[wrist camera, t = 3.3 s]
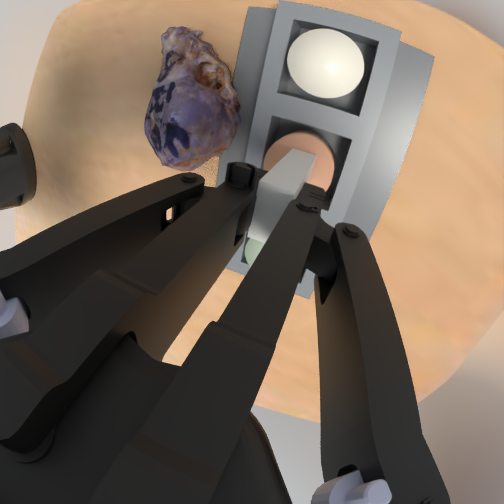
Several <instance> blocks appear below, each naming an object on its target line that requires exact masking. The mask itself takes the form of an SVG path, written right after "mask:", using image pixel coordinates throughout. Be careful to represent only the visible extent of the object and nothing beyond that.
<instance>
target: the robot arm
mask: <svg viewBox="0 0 504 504" xmlns="http://www.w3.org/2000/svg"><path fill="white" fill-rule="evenodd" d="M316 157H317V155H314V154H310V153H307V152H304V151H301V150H298V149H294V148H293V149H292V150H291V151H290V152H288V153H287V154H286V155H285V156H284V157H283V158H282V159H281V160H280V161H279V162H278V163H277V164H276V165H275V166H274V167H273V168H272V169H271V170H270V171H266V170H263V169H259V168H257V167H256V166H254V165H252V164H249V163H245V162H229V163H228V164H227V170H226V176H225V181H224V182H223V183H222V184H220V185H219V186H218V187H217V188H215V187H207V186H204V184H205V179H204V177H202V176H201V175H198V174H196V173H192V172H188V173H181V174H177V175H174V176H171V177H169V178H166V179H163V180H160V181H157V182H155V183H152V184H149V185H147V186H144V187H141V188H139V189H136V190H134V191H131V192H128V193H126V194H123V195H121V196H118V197H116V198H114V199H111V200H109V201H106V202H104V203H102V204H99V205H97V206H95V207H93V208H90V209H88V210H86V211H84V212H81V213H79V214H77V215H75V216H73V217H71V218H68V219H66V220H64V221H62V222H60V223H58V224H56V225H54V226H52V227H50V228H48V229H46V230H44V231H42V232H40V233H38V234H36V235H34V236H32V237H31V238H29V239H27V240H25V241H23V242H21V243H19V244H18V245H16V246H14V247H12V248H10V249H7V250H4V251H1V252H0V504H292V501H291V499H290V496H289V493H288V491H287V488H286V486H285V483H284V480H283V478H282V475H281V472H280V470H279V467H278V464H277V462H276V459H275V456H274V453H273V450H272V448H271V445H270V442H269V439H268V437H267V435H266V433H265V431H264V429H263V427H262V425H261V424H260V423H259V422H258V420H257V418H256V417H255V416H254V415H253V414H252V413H251V411H250V410H251V408H252V406H253V403H254V401H255V398H256V396H257V394H258V391H259V389H260V386H261V384H262V381H263V379H264V376H265V374H266V371H267V369H268V366H269V364H270V361H271V359H272V356H273V353H274V351H275V348H276V343H277V340H278V337H279V335H280V332H281V329H282V327H283V324H284V321H285V319H286V316H287V313H288V310H289V308H290V305H291V302H292V299H293V296H294V294H295V291H296V288H297V285H298V282H299V279H300V276H301V273H302V270H303V267H305V268H306V269H308V270H310V271H311V272H313V273H314V274H315V276H314V291H315V303H316V317H317V332H318V350H319V372H320V411H321V465H322V471H323V478H324V482H325V483H324V484H322V485H321V486H320V487H319V488H318V489H317V490H316V491H315V493H314V495H313V496H312V500H311V504H450V498H449V495H448V492H447V489H446V487H445V485H444V482H443V480H442V477H441V475H440V472H439V470H438V468H437V466H436V463H435V461H434V459H433V457H432V454H431V452H430V450H429V447H428V445H427V443H426V441H425V439H424V437H423V434H422V429H421V423H420V417H419V411H418V406H417V401H416V396H415V391H414V386H413V382H412V377H411V373H410V369H409V365H408V361H407V357H406V353H405V349H404V345H403V342H402V338H401V334H400V331H399V327H398V324H397V321H396V317H395V314H394V311H393V308H392V305H391V302H390V299H389V295H388V293H387V290H386V287H385V284H384V281H383V278H382V275H381V272H380V270H379V267H378V264H377V262H376V259H375V256H374V254H373V251H372V248H371V246H370V243H369V241H368V238H367V236H366V234H365V233H364V232H363V231H362V230H361V229H360V228H359V227H357V226H356V225H354V224H349V223H344V222H341V223H337V224H336V225H335V227H332V226H330V225H329V224H327V223H326V222H325V221H324V220H323V219H322V218H321V216H320V215H321V210H322V206H323V203H324V199H325V196H326V192H325V190H324V189H323V188H321V187H318V186H315V185H312V184H309V181H310V178H311V174H312V171H313V167H314V164H315V161H316ZM35 188H36V173H35V165H34V160H33V155H32V152H31V148H30V145H29V142H28V140H27V138H26V135H25V134H24V132H23V130H22V129H21V128H20V126H18V125H17V124H16V123H10V124H7V125H5V126H2V127H1V128H0V210H4V209H8V208H13V207H17V206H21V205H23V204H25V203H27V202H28V201H30V200H31V199H32V198H33V196H34V193H35ZM171 207H172V219H170V220H167V219H166V210H168V209H169V208H171ZM248 228H249V231H248V236H247V237H249V238H252V239H255V240H257V241H260V242H263V243H265V244H264V246H263V247H262V249H261V251H260V252H259V254H258V256H257V257H256V259H255V261H254V262H253V264H252V266H251V267H250V269H249V271H248V272H247V274H246V276H245V277H244V279H243V281H242V282H241V284H240V286H239V287H238V289H237V291H236V292H235V294H234V295H233V297H232V299H231V300H230V302H229V304H228V305H227V307H226V309H225V310H224V312H223V314H222V315H221V317H220V318H219V320H218V321H217V322H215V321H212V322H210V323H209V324H208V326H207V327H206V328H205V330H204V331H203V333H202V334H201V336H200V338H199V339H198V341H197V342H196V344H195V345H194V347H193V349H192V350H191V352H190V353H189V355H188V356H187V358H186V360H185V361H184V363H183V364H182V366H176V365H172V364H168V363H164V362H162V359H163V357H164V355H165V353H166V352H167V350H168V349H169V347H170V346H171V344H172V343H173V341H174V340H175V338H176V337H177V336H178V334H179V333H180V331H181V330H182V328H183V327H184V325H185V324H186V323H187V321H188V320H189V318H190V317H191V315H192V314H193V313H194V311H195V310H196V308H197V307H198V305H199V304H200V303H201V301H202V300H203V298H204V297H205V295H206V294H207V293H208V291H209V290H210V288H211V287H212V285H213V284H214V283H215V281H216V280H217V278H218V277H219V276H220V274H221V273H222V271H223V270H224V268H225V267H226V266H227V264H228V263H229V261H230V260H231V259H232V257H233V256H234V254H235V253H236V252H237V250H238V249H239V247H240V246H241V245H242V243H243V241H244V237H245V233H246V231H247V229H248Z"/></svg>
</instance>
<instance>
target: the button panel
mask: <svg viewBox="0 0 504 504" xmlns="http://www.w3.org/2000/svg"><path fill="white" fill-rule="evenodd" d="M314 29H331V30H335V31H338V32H340V33H343V34H344V35H346V36H348V37H349V38H350V39H351V40H352V41H353V42H354V43H355V44H356V45H357V46H358V48H359V49H360V51H361V53H362V56H363V60H364V73H363V76H362V79H361V81H360V83H359V84H358V85H357V87H356V88H355V89H354V90H353V91H351V92H350V93H348V94H346V95H344V96H341V97H337V98H321V97H317V96H314V95H311V94H309V93H307V92H306V91H304V90H303V89H302V88H300V87H299V86H298V85H297V84H296V83H295V81H294V80H293V78H292V77H291V75H290V72H289V69H288V64H287V57H288V52H289V49H290V47H291V45H292V44H293V42H294V41H295V40H296V39H297V38H298V37H299V36H300V35H302V34H303V33H305V32H308V31H310V30H314ZM401 32H402V31H399V30H396V29H394V28H391V27H388V26H386V25H383V24H380V23H377V22H374V21H371V20H368V19H365V18H361V17H358V16H355V15H351V14H347V13H344V12H340V11H336V10H331V9H327V8H322V7H318V6H313V5H307V4H301V3H295V2H288V1H281V0H279V2H278V6H277V9H270V8H261V7H248V11H247V16H246V20H245V25H244V29H243V34H242V39H241V43H240V48H239V53H238V58H237V63H236V68H235V73H234V78H233V84H232V87H233V88H234V89H235V90H236V92H237V101H238V102H239V103H240V106H241V108H240V111H239V115H240V118H241V123H240V124H239V125H238V126H237V132H236V135H235V137H234V139H233V141H232V143H231V145H230V149H229V150H225V151H223V154H222V155H221V156H220V161H219V168H218V175H217V182H216V188H217V187H218V186H219V185H220V184H222V183H223V182H224V181H225V176H226V170H227V164H228V163H229V162H245V163H249V164H252V165H254V166H256V167H257V168H259V169H263V170H264V159H265V156H266V153H267V151H268V150H269V148H270V147H271V146H272V145H273V144H274V143H275V142H276V141H278V140H279V139H281V138H282V137H283V136H285V135H286V134H288V133H290V132H293V131H298V130H307V131H312V132H314V133H317V134H319V135H320V136H322V137H323V138H324V139H325V140H326V141H327V142H328V143H329V144H330V146H331V147H332V150H333V152H334V155H335V169H334V173H333V177H332V181H331V184H330V186H329V188H328V189H327V190H326V196H325V199H324V203H323V206H322V210H321V215H320V216H321V218H322V219H323V220H324V221H325V222H326V223H327V224H329V225H330V226H332V227H335V225H336V224H337V223H341V222H344V223H349V224H354V225H356V226H357V227H359V228H360V229H361V230H362V231H363V232H364V233H365V234H366V236H367V238H368V241H369V240H370V238H371V236H372V234H373V232H374V229H375V227H376V225H377V223H378V221H379V218H380V216H381V214H382V212H383V209H384V207H385V205H386V202H387V200H388V198H389V195H390V193H391V190H392V188H393V185H394V183H395V180H396V178H397V175H398V173H399V170H400V168H401V165H402V162H403V160H404V157H405V154H406V151H407V149H408V146H409V143H410V140H411V137H412V134H413V131H414V128H415V125H416V122H417V119H418V116H419V113H420V110H421V106H422V103H423V99H424V96H425V93H426V89H427V85H428V82H429V78H430V74H431V70H432V66H433V62H434V56H432V55H430V54H428V53H426V52H424V51H422V50H419V49H417V48H415V47H413V46H410V45H408V44H406V43H403V42H401V41H400V37H401ZM248 231H249V228H248V229H247V231H246V233H245V237H244V241H243V243H242V245H241V246H240V247H239V249H238V250H237V252H236V253H235V254H234V256H233V257H232V259H231V260H230V261H229V263H228V264H227V266H226V269H229V270H232V271H234V272H237V273H239V274H242V275H245V276H246V274H247V272H248V271H249V269H250V266H249V264H248V263H247V260H246V257H245V247H246V244H247V242H248V240H249V239H250V238H249V237H247V236H248ZM314 276H315V274H314V273H313V272H311V271H310V270H308V269H306V268H305V267H303V270H302V273H301V276H300V279H299V282H298V285H297V288H296V291H295V294H296V295H299V296H301V297H304V298H307V299H310V296H311V294H312V292H313V290H314Z"/></svg>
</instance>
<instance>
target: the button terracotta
mask: <svg viewBox="0 0 504 504" xmlns="http://www.w3.org/2000/svg"><path fill="white" fill-rule="evenodd" d="M293 148H294V149H298V150H301V151H304V152H307V153H310V154H314V155H317V157H316V161H315V164H314V167H313V171H312V174H311V178H310V181H309V184H312V185H315V186H318V187H321V188H323V189H324V190H325V192H326V190H327V189H328V188H329V186H330V184H331V181H332V177H333V173H334V169H335V155H334V152H333V150H332V147H331V146H330V144H329V143H328V142H327V141H326V140H325V139H324V138H323V137H322V136H320V135H319V134H317V133H314V132H312V131H307V130H298V131H293V132H290V133H288V134H286V135H285V136H283V137H282V138H281V139H279V140H278V141H276V142H275V143H274V144H273V145H272V146H271V147H270V148H269V150H268V151H267V153H266V156H265V159H264V170H266V171H270V170H271V169H272V168H273V167H274V166H275V165H276V164H277V163H278V162H279V161H280V160H281V159H282V158H283V157H284V156H285V155H286V154H287V153H288V152H290V151H291V150H292V149H293Z"/></svg>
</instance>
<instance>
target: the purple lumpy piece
mask: <svg viewBox="0 0 504 504" xmlns="http://www.w3.org/2000/svg"><path fill="white" fill-rule="evenodd" d="M188 30H189V28H186V27H182V26H181V27H178V28H175V27H170V28H168V30H167V31H166V32H165V33H163V34H162V54H163V59H162V67H161V71H160V75H159V77H158V79H157V81H156V82H155V84H154V88H153V94H152V97H151V100H150V103H149V106H148V109H147V113H146V117H145V122H144V128H145V135H146V136H147V138H148V140H149V142H150V144H151V146H152V148H153V149H154V151H155V153H156V155H157V157H158V158H159V159H160V161H161V164H162V165H165V166H168V167H171V168H173V169H176V170H180V171H191V170H194V169H196V168H198V167H199V166H201V165H202V164H203V163H205V162H206V161H208V160H209V159H210V158H211V157H213V156H217V157H220V156H221V155H222V154H223V151H225V150H229V149H230V145H231V143H232V141H233V139H234V137H235V135H236V132H237V126H238V125H239V124H240V123H241V118H240V115H239V111H240V108H241V106H240V103H239V102H238V101H237V92H236V90H235V89H234V88H233V87H232V84H231V79H230V74H229V69H228V67H227V66H226V65H225V64H224V63H222V62H220V60H219V59H218V58H217V56H218V55H217V54H215V53H214V51H213V50H212V46H211V45H209V44H208V43H206V42H203V41H201V40H199V39H198V38H197V37H198V34H201V33H202V31H193V32H189V31H188ZM216 83H219V84H220V85H222V87H221V88H219V89H218V90H217V87H216V86H217V84H216Z"/></svg>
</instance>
